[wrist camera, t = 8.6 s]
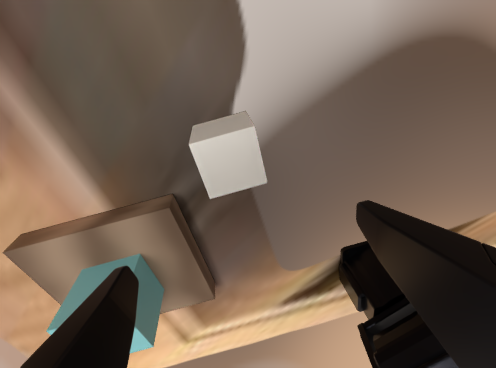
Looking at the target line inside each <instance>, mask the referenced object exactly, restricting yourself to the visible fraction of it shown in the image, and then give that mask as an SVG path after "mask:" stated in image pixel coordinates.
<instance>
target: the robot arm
mask: <svg viewBox="0 0 496 368" xmlns="http://www.w3.org/2000/svg"><path fill="white" fill-rule="evenodd" d="M356 220H357V224H358V226H359V227H360V229H361V231H362V233H363V234H364V236H365V238H366V239H367V241H365V242H361V243H357V244H354V245H350V246H346V247H344V248H342V249H341V264H340V266H339V272H340V281H341V282H342V284H343V286H344V288H345V289H346V291H347V293H348V295H349V297H350V298H351V300H352V302H353V304H354V305H355V307H356V309H357V310H358V311H360V312H361V311H364V313H365V315H366V316H367V318H368V321H366V322H365V323H361V324H359V325H358V329H359V332H360V336H361V339H362V341H363V344H364V346H365V349H366V352H367V354H368V357H369V359H370V362H371V365H372V367H373V368H496V248H495V247H492V246H490V245H487V244H484V243H482V244H481V242H479V241H476V240H474V239H471V238H468V237H466V236H463V235H460V234H458V233H455V232H452V231H450V230H447V229H444V228H442V227H439V226H436V225H433V224H431V223H428V222H426V221H423V220H420V219H418V218H415V217H412V216H409V215H407V214H404V213H401V212H399V211H396V210H394V209H390V208H388V207H385V206H383V205H380V204H378V203H374V202H372V201H369V200H367V201H363V202H359V203H358V204H357V210H356ZM138 290H139V281H138V278H137V277H136V275H135V274H134V273H133V271H132V270H131V269H130V267H129V266H121V267H118V268H116V269H114V270H113V271H112V272H111V273H110V274H109V275H108V277H107V278H106V279H105V280H104V281H103V282H102V283H101V284H100V285H99V286H98V287H97V288H96V289H95V290H94V291H93V292H92V293H91V294H90V295H89V296H88V297H87V298H86V299H85V300H84V301H83V302H82V304H81V305H80V306H79V307H78V308H77V309H76V310H75V311H74V312H73V313H72V314H71V315H70V316H69V317H68V318H67V319H66V320H65V321H64V322H63V323H62V324H61V325H60V326H59V327H58V328H57V329H56V330H55V332H54V333H53V334H52V335H51V336H50V337H49V338H48V339H47V340H46V341H45V342H44V343H43V344H42V345H41V346H40V347H39V348H38V349H37V350H36V351H35V352H34V353H33V354H32V355H31V356H30V357H29V358H28V360H27V361H26V362H25V363H24V364H23V365H22V366H21V367H20V368H127V365H128V360H129V355H130V349H131V344H132V339H133V334H134V328H135V322H136V312H137V301H138Z"/></svg>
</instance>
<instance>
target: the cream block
mask: <svg viewBox="0 0 496 368" xmlns="http://www.w3.org/2000/svg"><path fill="white" fill-rule="evenodd" d="M189 147H190V149H191V152H192V154H193V157H194V159H195V162H196V164H197V167H198V169H199V172H200V175H201V177H202V180H203V182H204V185H205V187H206V190H207V192H208V195H209V197H210V199H212V198H215V197H219V196H223V195H226V194H230V193H233V192H237V191H240V190H244V189H248V188H251V187H255V186H258V185H262V184H266V183H267V179H266V174H265V169H264V165H263V161H262V156H261V152H260V147H259V143H258V138H257V134H256V129H255V126H254V124H253V122H252V121H251V119H250V117H249V116H248V114H247V112H246V111H243V112H239V113H236V114H233V115H230V116H226V117H223V118H219V119H215V120H212V121H208V122H205V123H201V124H197V125H194V126H193V127H192V132H191V136H190V141H189Z"/></svg>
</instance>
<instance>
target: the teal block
mask: <svg viewBox="0 0 496 368" xmlns="http://www.w3.org/2000/svg"><path fill="white" fill-rule="evenodd" d="M121 266H129V267H130V269H131V270H132V271H133V273H134V274H135V275H136V277H137V278H138V281H139V290H138V301H137V312H136V322H135V328H134V334H133V339H132V344H131V349H130V353H133V352H137V351H140V350H144V349H147V348H151V347H153V346H154V341H155V336H156V330H157V325H158V320H159V315H160V309H161V304H162V299H163V294H164V288H163V287H162V285H161V284H160V282H159V281H158V279H157V278H156V276H155V275H154V273H153V272H152V270H151V269H150V268H149V266H148V265H147V263H146V262H145V260H144V259H143V257H142V256H141V254H137V255H133V256H129V257H126V258H122V259H119V260H115V261H111V262H108V263H104V264H100V265H97V266H93V267H89V268H86V269H82V271H81V272H80V274H79V276H78V278H77V279H76V281H75V283H74V284H73V286H72V288H71V290H70V291H69V293H68V295H67V297H66V298H65V300H64V302H63V303H62V305H61V307H60V309H59V310H58V312H57V314H56V315H55V317H54V319H53V321H52V322H51V324H50V326H49V328H48V329H47V331H46V332H48V333H49V334H50V335H52V334H53V333H54V332H55V330H56V329H57V328H58V327H59V326H60V325H61V324H62V323H63V322H64V321H65V320H66V319H67V318H68V317H69V316H70V315H71V314H72V313H73V312H74V311H75V310H76V309H77V308H78V307H79V306H80V305H81V304H82V302H83V301H84V300H85V299H86V298H87V297H88V296H89V295H90V294H91V293H92V292H93V291H94V290H95V289H96V288H97V287H98V286H99V285H100V284H101V283H102V282H103V281H104V280H105V279H106V278H107V277H108V275H109V274H110V273H111V272H112V271H113V270H114V269H116V268H118V267H121Z"/></svg>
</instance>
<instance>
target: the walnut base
mask: <svg viewBox="0 0 496 368" xmlns="http://www.w3.org/2000/svg"><path fill="white" fill-rule="evenodd" d="M3 254H5V255H6V256H7V257H8V258H9V259H10V260H11V261H12V262H14V263H15V264H16V265H17V266H18V267H19V268H20V269H21V270H22V271H24V272H25V273H26V274H27V275H28V276H29V277H30V278H31V279H33V280H34V281H35V282H36V283H37V284H38V285H39V286H40V287H41V288H43V289H44V290H45V291H46V292H47V293H48V294H49V295H50V296H52V297H53V298H54V299H55V300H56V301H57V302H58V303H59V304H60V305H62V303H63V302H64V300H65V298H66V297H67V295H68V293H69V291H70V290H71V288H72V286H73V284H74V283H75V281H76V279H77V278H78V276H79V274H80V272H81V271H82V269H86V268H89V267H93V266H97V265H100V264H104V263H108V262H111V261H115V260H119V259H122V258H126V257H129V256H133V255H137V254H141V256H142V257H143V259H144V260H145V262H146V263H147V265H148V266H149V268H150V269H151V270H152V272H153V273H154V275H155V276H156V278H157V279H158V281H159V282H160V284H161V285H162V287H163V288H164V294H163V299H162V304H161V309H160V314H162V313H165V312H169V311H173V310H176V309H180V308H184V307H187V306H191V305H195V304H198V303H202V302H206V301H209V300H213V299H215V282H214V280H213V278H212V275H211V273H210V271H209V269H208V267H207V265H206V263H205V261H204V259H203V257H202V254H201V252H200V250H199V248H198V246H197V244H196V242H195V240H194V238H193V236H192V233H191V231H190V229H189V227H188V225H187V223H186V221H185V219H184V217H183V214H182V212H181V210H180V208H179V206H178V204H177V202H176V200H175V198H174V196H173V194H170V195H167V196H163V197H159V198H155V199H152V200H148V201H144V202H140V203H137V204H133V205H129V206H126V207H122V208H118V209H114V210H111V211H107V212H103V213H99V214H96V215H92V216H88V217H85V218H81V219H77V220H73V221H70V222H66V223H62V224H58V225H55V226H51V227H47V228H43V229H40V230H36V231H32V232H29V233H25V234H21V235H20V236H19V237H18V238H17V239H16V240H15V241H14V242H13V243H12V244H11V245H10V246H9V247H8V248H7V249H6V250H5V251H4V252H3Z"/></svg>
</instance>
